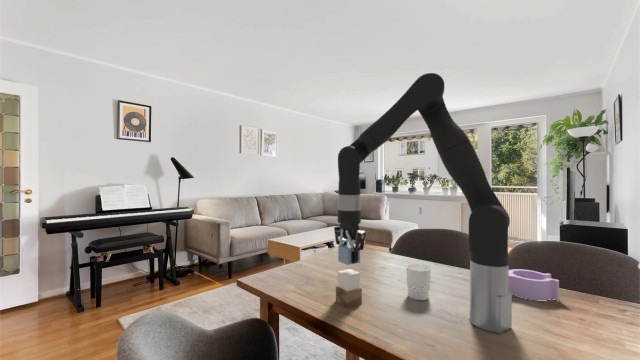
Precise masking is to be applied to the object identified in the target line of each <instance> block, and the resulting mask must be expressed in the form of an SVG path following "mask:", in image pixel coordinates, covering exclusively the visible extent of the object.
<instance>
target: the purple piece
mask: <svg viewBox="0 0 640 360" xmlns="http://www.w3.org/2000/svg"><path fill="white" fill-rule="evenodd" d="M508 292H511V293H512V295H516V296H519V297H522V298H527V299H532V300H549V299H556V300H558V299H559V300H560V280H559V279H556V278H555V279H554V278H552V274H551V273H542V272H539V271H536V270H531V269H519V268H517V269H515V268H514V269H513V268H512V269H508ZM516 296H515V297H516ZM519 297H518V298H519ZM522 298H521V299H522Z"/></svg>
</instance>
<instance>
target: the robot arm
mask: <svg viewBox="0 0 640 360" xmlns="http://www.w3.org/2000/svg"><path fill="white" fill-rule="evenodd" d="M444 93H445V81H444V79H443V77H442V76H441V75H440V74H438V73H435V72H427V73H424V74H422V75H420V76H419V77H418V78H417V79H416V80H414V82H413V83H412V84H411V85H410V86H409V88H408V89H407V90H406V91H405V93H404V94H403V95H402V96H401V97H400V98H399V99H398V100H397V101H396V102H395V103H394V104H393V105H392V106H391V107H390V108H389V109H388V110H387V111H385V113H384V114H382V115H381V116H380V117H379V118H378V119H377V120H375V121H374V122H373V123H372V124H371V125H369V126H368V127H367V128H366V129H365V130H364V131H362V133H360V135H359V136H358V138H356V140H354V141H353V142H352V143H350V145H347V146H344V147H342V148H341V149H340V150H339V152H338V155H337V169H338V197H337V223H338V224H339V225H338V226H334V228H333V229H334V238H335V243H336V245H338V246H341V245H348V244H350V246H351V262H352V263H355V264H358V263H357V262H358V252H359V250H360V251H363V250H364V247H365V242H366V236H367V235H366V234H367V233H366V231H361V230H360V227H359V226H360V225H359V224H361V223H362V200H361V180H360V170H361V169H360V168H361V165H360V164H361V163H363V161H365V160H366V159H367V157H369V156H370V155H371V154H372V153H373V152H374V151H376V150H378V149H379V148H380V147H381V146H382V145H383V144H385V143H386V142H387V141H388V140H389V139H390V138H392V137H393V136H394V134H395V133H396V132H398V130H399V129H400V128H401V127H402V126H403V124H404V123H405V122H406V121H407V120H408V119H409V118H410V117H411V116H412V115H413V114H414V113H416V111H418V112H419V114H420V116H421V117H422V119H423V121H424V122H425V124H426V126H427V128H428V131H429V132H430V135H431V138H432V141H433V143H434V146H435V148H436V151H437V153H438V155H439V158H440V160H441V162H442V164H443V165H444V168H445V170H446V171H447V173H448V174H449V176H450V177H451V178H452V180H453V182H455V183H456V185H457V186H458V187H459V189H460V191H461V192H462V193H463V195H464V197H465V199H466V202H467V204H468V206H469V209H470V212H471V213H470V214H469V215H470V216H469V218H468V251H469V253H470V255H469V256H470V260H469V261H470V262H469V263H470V265H469V266H470V267H469V270H470V271H469V272H470V273H469V276H470V277H469V321H470V323H471V324H472V325H474V326H475V327H477V328H479V329H481V330H485V331H487V332H495V333H497V334H502V333H504V332H506V331H508V330H510V329H511V328H512V324H513V323H512V321H513V320H512V316H513V315H512V313H513V312H512V311H513V309H512V307H513V305H512V304H513V301H512V300H513V298H512V297H513V296H512V293H511V292H508V270H509V268H510V267H509V263H510V262H509V261H510V260H509V259H510V257H509V256H510V255H509V228H510V224H511V223H510V216H509V213H508V211H507V210H506V209H505V207H504V205H503V204H502V203H501V201H500V200H499V197H498V196H497V195H496V194H495V191H494V190H493V189H492V186H491V185H490V183H489V181H488V179H487V176H486V174H485V170H484V167H483V165H482V164H481V161H480V158H479V156H478V155H477V152H476V149H475V148H474V146H473V144H472V142H471V140H470V139H469V136H468V135H467V134H466V132H464V130H463V129H462V128H461V126H459V124H458V123H456V121H454V119H453V117H452V116H451V115H450V113H449V111H448V108H447V106H446V103H445V100H444ZM354 245H355V247H354ZM509 328H510V329H509Z"/></svg>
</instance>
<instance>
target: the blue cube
mask: <svg viewBox="0 0 640 360" xmlns="http://www.w3.org/2000/svg"><path fill="white" fill-rule="evenodd" d="M354 247H355V244H354ZM337 252H338V253H337V256H338V259H337V260H338V262H340V263H342V264H344V265H347V266H350V265H355V264H360V263H361V250H359V252H358V262H357V263H352V262H351V246H350V244H349V243H347V245H341V246H339V245H338V250H337Z"/></svg>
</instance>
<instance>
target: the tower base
mask: <svg viewBox="0 0 640 360" xmlns="http://www.w3.org/2000/svg"><path fill="white" fill-rule="evenodd" d="M362 290H363V288H362V287H360V288H359V289H355V290H351V291H348V292H347V291H345V290H344V289H342V288H340V287H338V285H337V286H336V285H335V302H336V303H338V304H339V305H341V306H342V307H344V308H346V309H349V308H352V307H356V306H358V305H362V303H363V300H362V299H363V295H362V294H363V293H362Z"/></svg>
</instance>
